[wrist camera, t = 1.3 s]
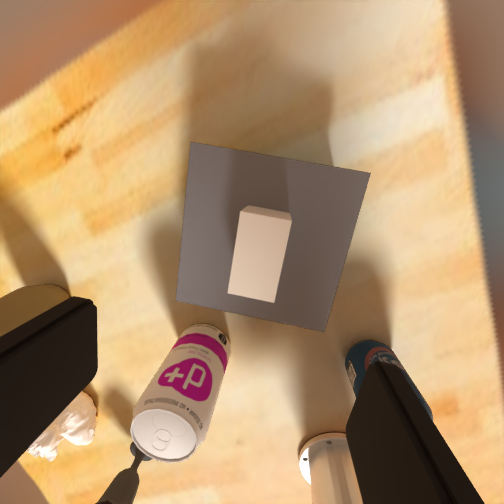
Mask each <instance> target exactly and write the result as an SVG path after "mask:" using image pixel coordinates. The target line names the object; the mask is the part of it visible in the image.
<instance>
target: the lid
mask: <svg viewBox="0 0 504 504" xmlns="http://www.w3.org/2000/svg"><path fill="white" fill-rule="evenodd" d="M370 174H371V173H368V172H362V171H356V170H351V169H345V168H339V167H333V166H328V165H322V164H316V163H310V162H304V161H299V160H293V159H287V158H281V157H276V156H270V155H264V154H258V153H253V152H247V151H241V150H235V149H229V148H224V147H218V146H212V145H206V144H201V143H195V142H191V143H190V154H189V164H188V175H187V186H186V197H185V207H184V218H183V229H182V239H181V250H180V261H179V271H178V282H177V293H176V301H179V302H184V303H188V304H193V305H198V306H202V307H207V308H212V309H217V310H221V311H226V312H231V313H236V314H240V315H245V316H250V317H254V318H259V319H264V320H269V321H273V322H278V323H283V324H288V325H292V326H297V327H302V328H306V329H311V330H316V331H321V332H324V331H325V328H326V324H327V321H328V317H329V314H330V311H331V307H332V304H333V300H334V297H335V294H336V290H337V287H338V283H339V280H340V276H341V273H342V270H343V266H344V263H345V259H346V256H347V253H348V249H349V246H350V242H351V239H352V235H353V232H354V229H355V225H356V222H357V218H358V215H359V212H360V208H361V205H362V201H363V198H364V194H365V191H366V188H367V184H368V181H369V177H370Z"/></svg>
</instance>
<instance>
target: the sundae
mask: <svg viewBox="0 0 504 504" xmlns="http://www.w3.org/2000/svg"><path fill="white" fill-rule="evenodd" d="M130 450H131V453H132V454H133V455H134V456H135V459H134V462H133V464H132V466H131V467H130V468H128V469H125V470H123V471H121V472H119V473H118V475H117V476H116V477H115V478H114V480H113V481H112V482H111V484H110V485H109V487H108V488H107V490H106V491H105V493H104V494H103V495H102V497H101V498H100V499H99V501H98V502H97V503H95V504H132V503H133V501H134V498H135V495H136V492H137V489H138V485H139V476H138V473H137V468H138V466H139V464H140V463H141V461H142V460H143V461H149V460H151V459H153V458H151V457H149V456H147V455H146V454H144V453H143V452H142V451H141V450H140V449H138V447H137V446H136V444H135V443H134V442H133V443H132V444H131V446H130Z"/></svg>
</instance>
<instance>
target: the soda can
mask: <svg viewBox="0 0 504 504" xmlns="http://www.w3.org/2000/svg"><path fill="white" fill-rule="evenodd" d="M376 361H382V362H387V363H392V364H395V365H397V366H398V367H399V369H400V370H401V372H402V373H403V375H404V376H405V378H406V380H407V381H408V383H409V384H410V386H411V388H412V389H413V391H414V392H415V394H416V396H417V397H418V399H419V400H420V402H421V403H422V405H423V407H424V408H425V410H426V411H427V413H428V415H429V416H430V418H431V419H432V421H433V415H432V411H431V409H430V407H429V406H428V404H427V403H426V401H425V399H424V398H423V396H422V395H421V393H420V392H419V390H418V389H417V387H416V386H415V384H414V383H413V381H412V380H411V378H410V377H409V375H408V373H407V372H406V370H405V369H404V367H403V366H402V364H401V363H400V361H399V360H398V358H397V357H396V355H395V354H394V352H393V351H392V350H391V349H390V348H389V347H388V346H387V345H385V344H383V343H380V342H377V341H373V340H364V341H360V342H358V343H356V344H354V345H353V346H352V347H351V348H350V350H349V352H348V353H347V355H346V359H345V367H346V370H347V373H348V376H349V378H350V381H351V384H352V387H353V390H354V393H355V396H356V398H357V395H358V392H359V390H360V387H361V384H362V381H363V379H364V376H365V373H366V371H367V368H368V366H369V365H370V364H374V363H375V362H376Z"/></svg>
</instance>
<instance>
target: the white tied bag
mask: <svg viewBox="0 0 504 504" xmlns="http://www.w3.org/2000/svg"><path fill="white" fill-rule="evenodd" d="M96 412H97V410H96V407H95V406H94V403H93V400H92V398H91V397H89V396H88V394H87V393H84V392H83V391H81V392H80V393H79V395H78V396H77V397H76V398H75V399H74V400H73V401H72V402H71V403H70V404H69V405H68V406H67V407H66V408H65V409H64V410H63V412H62V413H61V414H60V415H59V416H58V417H57V418H56V419H55V420H54V421H53V422H52V423H51V424H50V425H49V426H48V428H47V429H46V430H45V431H44V432H43V433H42V434H41V435H40V436H39V437H38V438H37V439H36V440H35V441H34V442H33V444H32V445H31V446H30V447H29V449H28V450H27V452H30V454H32V455H34V456H35V457H37V456H38V455H40V457H44V456H45V457H46V458H47V459H48V460H49V461H53V460H54V459H55V457H56V455H57V454H58V451H57V445H58V444H59V442H60V441H62V440H63V439H64V438H66V439H67V440H68V441H70V442H72V443H73V444H76V445H87V444H89V443H91V442H92V440H93V438H94V436H95V434H94V433H95V429H96V427H97V419H96Z"/></svg>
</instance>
